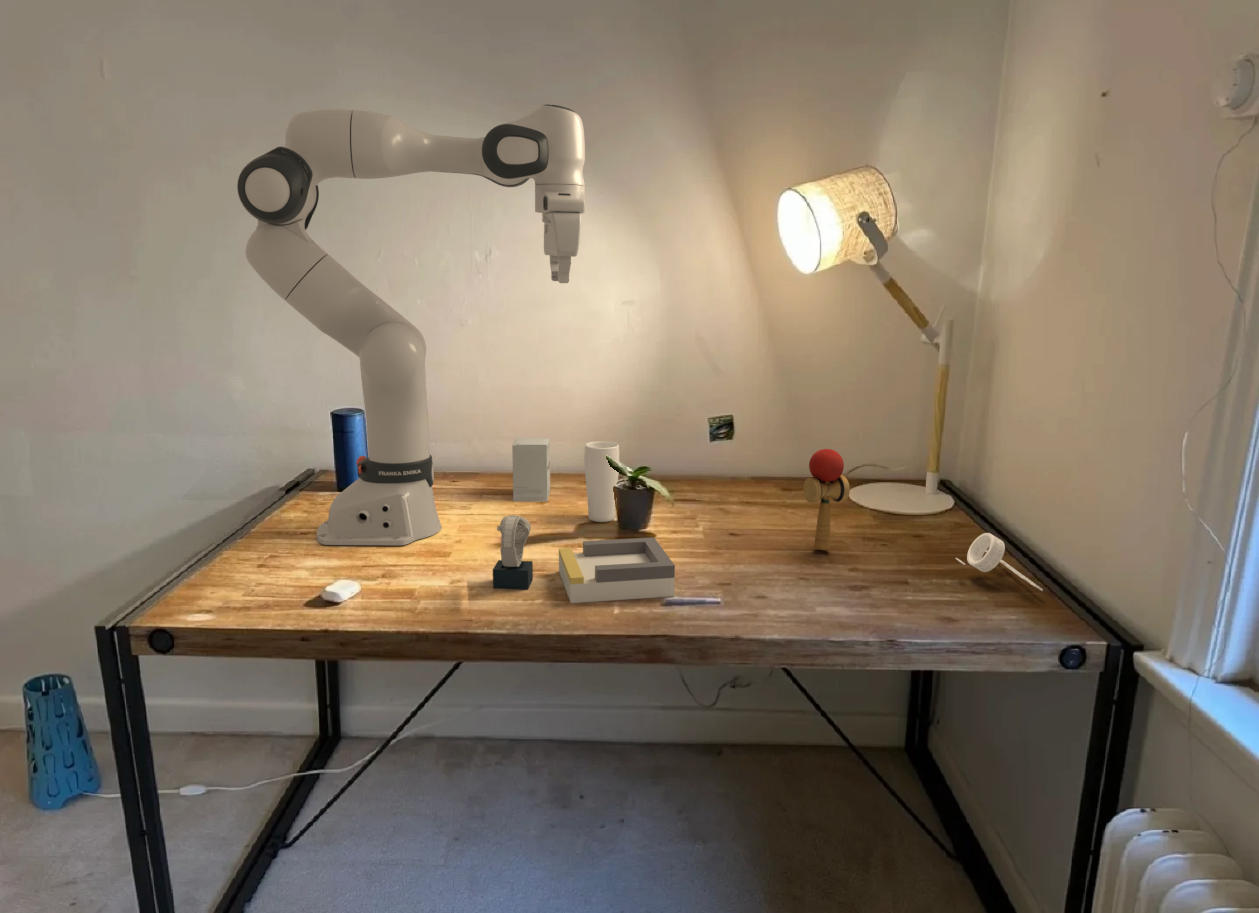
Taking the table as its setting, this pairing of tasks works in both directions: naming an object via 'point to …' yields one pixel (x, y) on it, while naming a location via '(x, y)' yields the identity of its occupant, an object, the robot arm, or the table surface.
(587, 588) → the dock
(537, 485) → the supplement box
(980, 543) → the wheel on axle
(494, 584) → the watch
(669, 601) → the table surface
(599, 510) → the white vase
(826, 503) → the kendama
